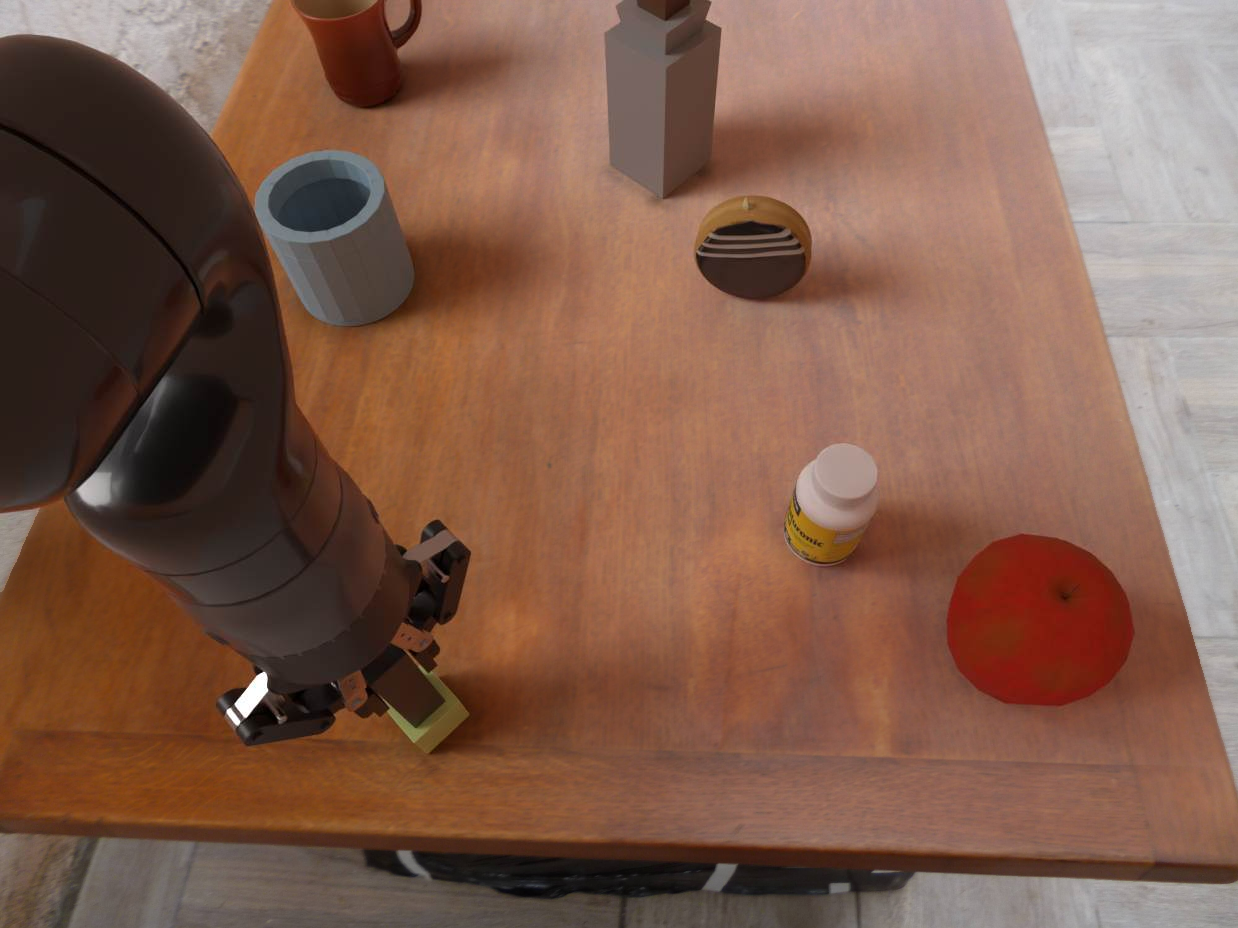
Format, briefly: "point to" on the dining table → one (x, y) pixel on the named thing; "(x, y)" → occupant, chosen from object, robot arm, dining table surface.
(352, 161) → the gray tumbler
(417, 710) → the brush
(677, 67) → the perfume bottle
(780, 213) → the doughnut
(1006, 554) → the apple
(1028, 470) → the dining table surface
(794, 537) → the supplement bottle
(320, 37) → the mug
